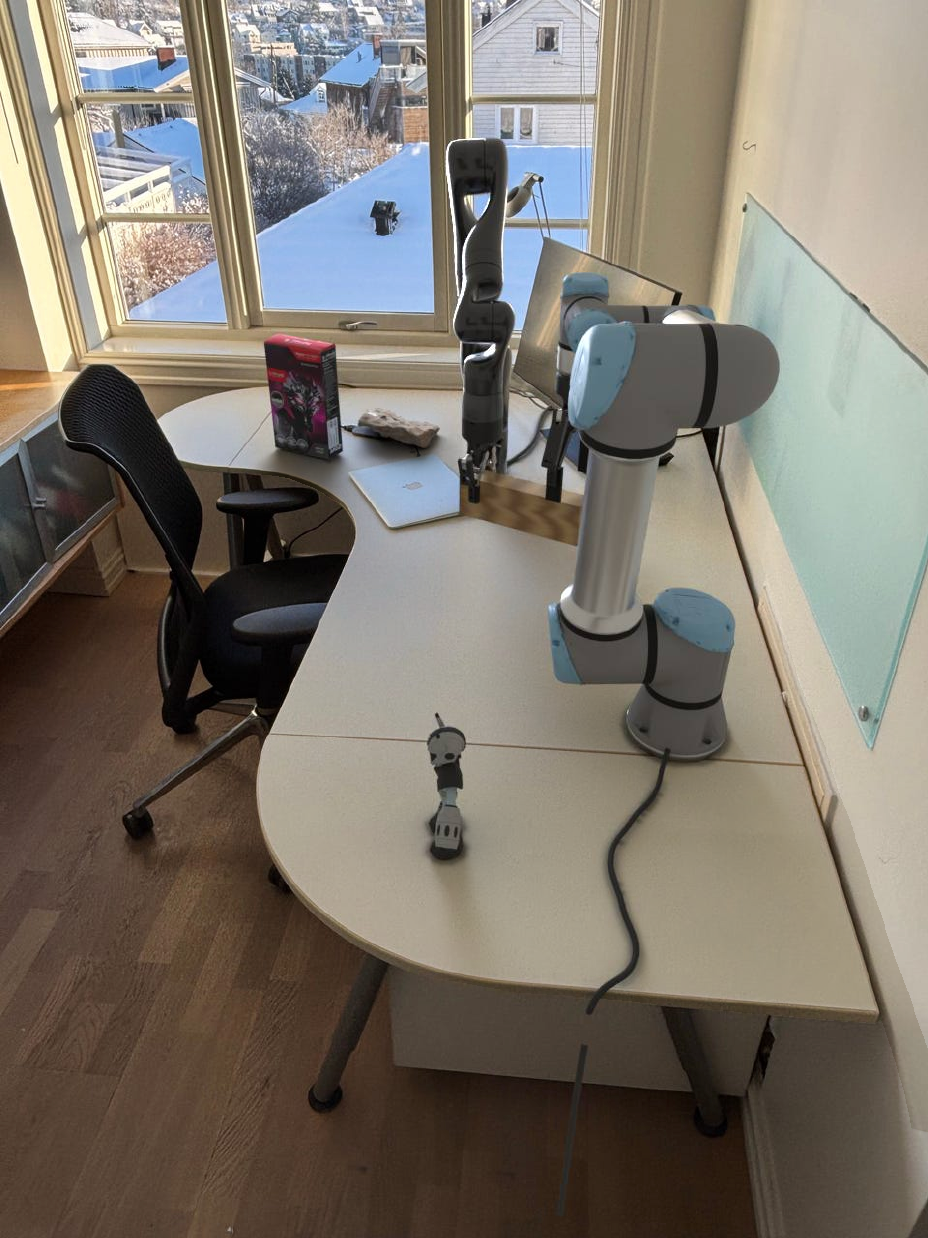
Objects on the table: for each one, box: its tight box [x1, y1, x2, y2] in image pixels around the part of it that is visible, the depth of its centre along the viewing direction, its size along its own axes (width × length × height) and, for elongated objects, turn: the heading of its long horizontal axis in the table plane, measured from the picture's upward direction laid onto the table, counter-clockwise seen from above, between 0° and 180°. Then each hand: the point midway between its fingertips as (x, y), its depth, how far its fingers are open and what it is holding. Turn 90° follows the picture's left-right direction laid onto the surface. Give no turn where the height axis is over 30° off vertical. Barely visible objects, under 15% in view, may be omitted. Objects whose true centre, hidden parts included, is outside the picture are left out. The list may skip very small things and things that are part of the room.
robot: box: [426, 712, 467, 861], centre depth 119 cm, size 20×5×20 cm, turn 3°
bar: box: [458, 467, 584, 548], centre depth 174 cm, size 25×5×8 cm, turn 60°
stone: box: [357, 407, 441, 449], centre depth 236 cm, size 21×15×6 cm
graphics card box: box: [263, 333, 344, 460], centre depth 223 cm, size 17×7×27 cm, turn 62°
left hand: (480, 496), depth 178 cm, fingers closed on bar, 4 cm apart
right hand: (569, 486), depth 166 cm, fingers open, 13 cm apart
